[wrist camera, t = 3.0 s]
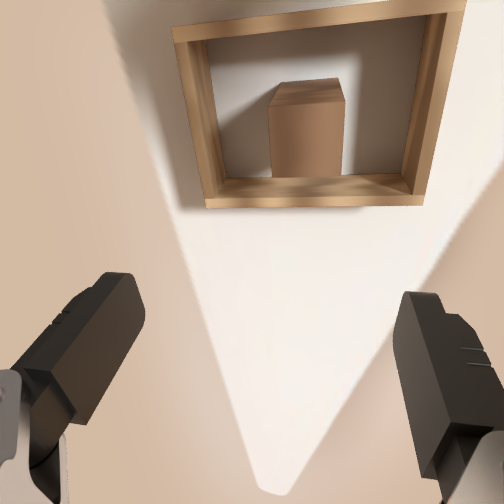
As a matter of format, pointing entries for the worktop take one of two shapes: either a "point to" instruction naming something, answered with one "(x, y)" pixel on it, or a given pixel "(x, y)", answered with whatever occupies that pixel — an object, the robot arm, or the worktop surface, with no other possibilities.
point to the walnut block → (307, 129)
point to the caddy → (334, 187)
